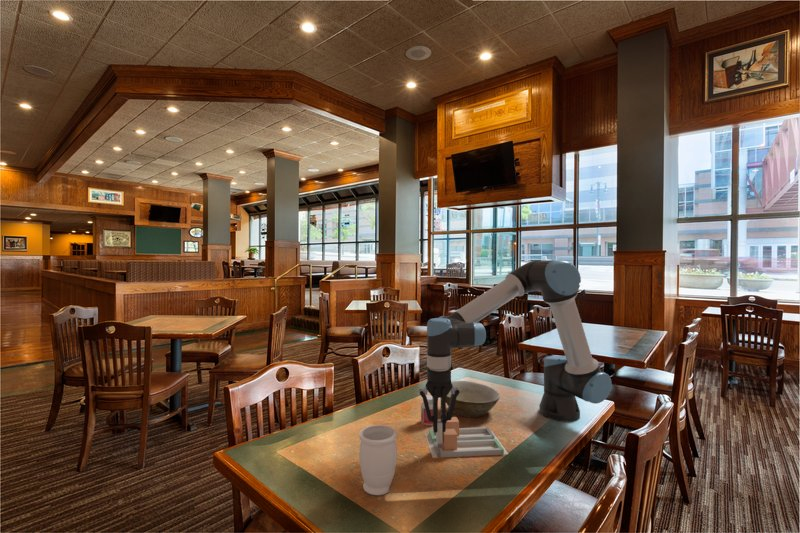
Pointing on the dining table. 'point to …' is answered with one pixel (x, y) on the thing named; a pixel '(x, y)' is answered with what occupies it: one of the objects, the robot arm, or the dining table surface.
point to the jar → (377, 458)
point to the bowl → (473, 398)
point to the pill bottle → (423, 412)
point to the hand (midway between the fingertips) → (439, 441)
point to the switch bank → (468, 443)
